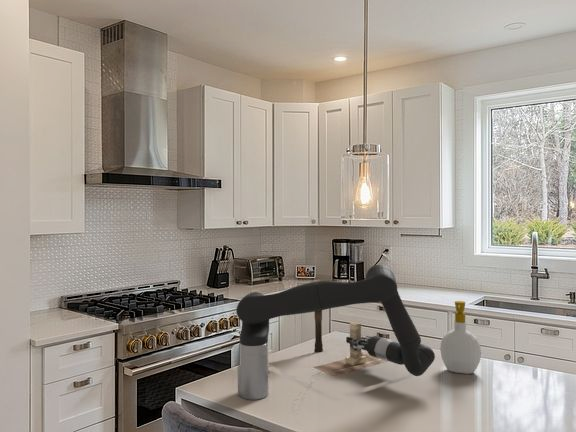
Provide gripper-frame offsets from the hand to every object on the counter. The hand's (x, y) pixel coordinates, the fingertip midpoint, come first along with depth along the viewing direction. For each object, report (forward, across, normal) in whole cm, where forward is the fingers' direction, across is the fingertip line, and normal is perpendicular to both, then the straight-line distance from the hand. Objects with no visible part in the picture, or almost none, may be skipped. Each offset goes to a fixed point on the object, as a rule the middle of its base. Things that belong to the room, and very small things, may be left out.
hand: (350, 338), depth 185 cm
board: (-3, 0, +10) cm, 11 cm away
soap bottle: (-30, -27, +11) cm, 42 cm away
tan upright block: (-3, 0, +8) cm, 9 cm away
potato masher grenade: (+18, +1, +10) cm, 21 cm away
